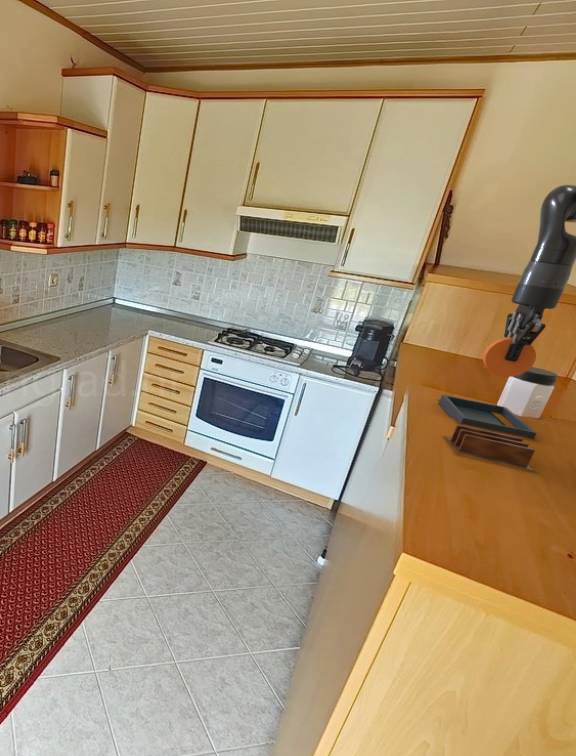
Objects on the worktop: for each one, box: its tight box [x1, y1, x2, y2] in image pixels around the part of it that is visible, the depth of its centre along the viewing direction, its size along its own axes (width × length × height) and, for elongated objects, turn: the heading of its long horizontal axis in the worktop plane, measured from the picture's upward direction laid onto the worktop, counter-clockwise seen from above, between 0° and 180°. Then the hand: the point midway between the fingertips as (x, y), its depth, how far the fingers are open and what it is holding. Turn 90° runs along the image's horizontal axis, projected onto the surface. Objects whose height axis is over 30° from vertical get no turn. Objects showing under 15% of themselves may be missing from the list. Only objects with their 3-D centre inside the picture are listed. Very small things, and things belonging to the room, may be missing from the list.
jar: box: [496, 366, 559, 419], centre depth 124 cm, size 9×8×12 cm
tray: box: [438, 394, 538, 440], centre depth 117 cm, size 14×18×3 cm
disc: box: [482, 337, 537, 378], centre depth 112 cm, size 9×2×9 cm, turn 66°
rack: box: [445, 424, 536, 471], centre depth 98 cm, size 12×9×5 cm
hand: (508, 359), depth 112 cm, fingers closed on disc, 1 cm apart
